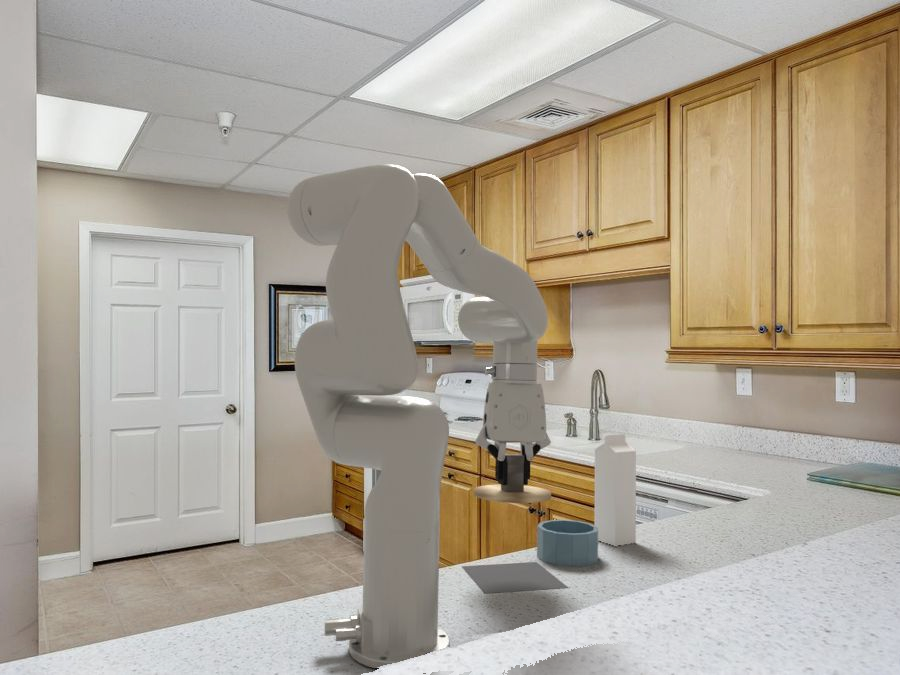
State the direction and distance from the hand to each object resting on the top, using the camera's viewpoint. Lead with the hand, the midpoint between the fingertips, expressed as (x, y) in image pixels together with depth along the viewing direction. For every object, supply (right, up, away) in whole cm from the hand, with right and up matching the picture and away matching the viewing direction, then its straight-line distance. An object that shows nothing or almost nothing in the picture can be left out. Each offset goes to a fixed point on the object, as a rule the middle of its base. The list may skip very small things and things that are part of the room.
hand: (512, 482), depth 110 cm
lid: (0, -2, 0) cm, 2 cm away
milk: (+24, -18, +25) cm, 39 cm away
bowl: (+11, -17, +12) cm, 24 cm away
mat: (0, -16, 0) cm, 16 cm away
